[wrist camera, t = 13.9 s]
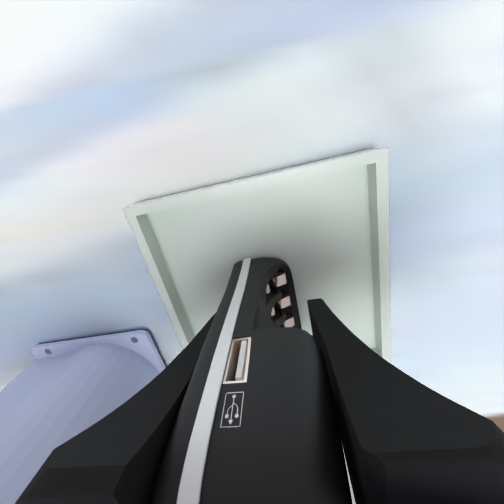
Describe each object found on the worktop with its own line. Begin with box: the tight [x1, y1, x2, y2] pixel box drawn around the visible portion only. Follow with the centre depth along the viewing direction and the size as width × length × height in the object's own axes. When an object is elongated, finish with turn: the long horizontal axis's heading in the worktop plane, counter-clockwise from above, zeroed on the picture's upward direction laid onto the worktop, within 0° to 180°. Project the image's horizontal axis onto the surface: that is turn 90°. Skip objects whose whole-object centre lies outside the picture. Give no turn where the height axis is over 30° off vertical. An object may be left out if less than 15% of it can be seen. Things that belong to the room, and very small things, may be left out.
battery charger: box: [151, 257, 352, 504], centre depth 9 cm, size 7×4×11 cm, turn 13°
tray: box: [123, 148, 391, 363], centre depth 14 cm, size 12×12×2 cm
